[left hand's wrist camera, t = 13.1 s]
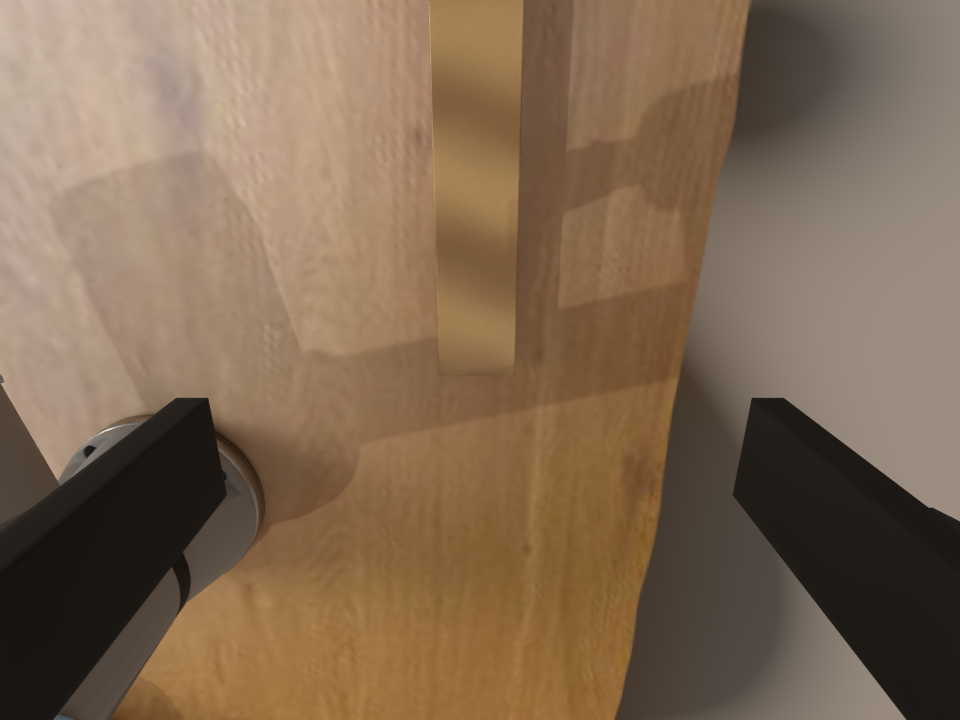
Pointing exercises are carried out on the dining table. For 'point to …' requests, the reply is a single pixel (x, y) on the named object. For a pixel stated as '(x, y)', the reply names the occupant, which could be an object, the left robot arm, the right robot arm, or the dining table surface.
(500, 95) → the bar
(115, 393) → the dining table surface
